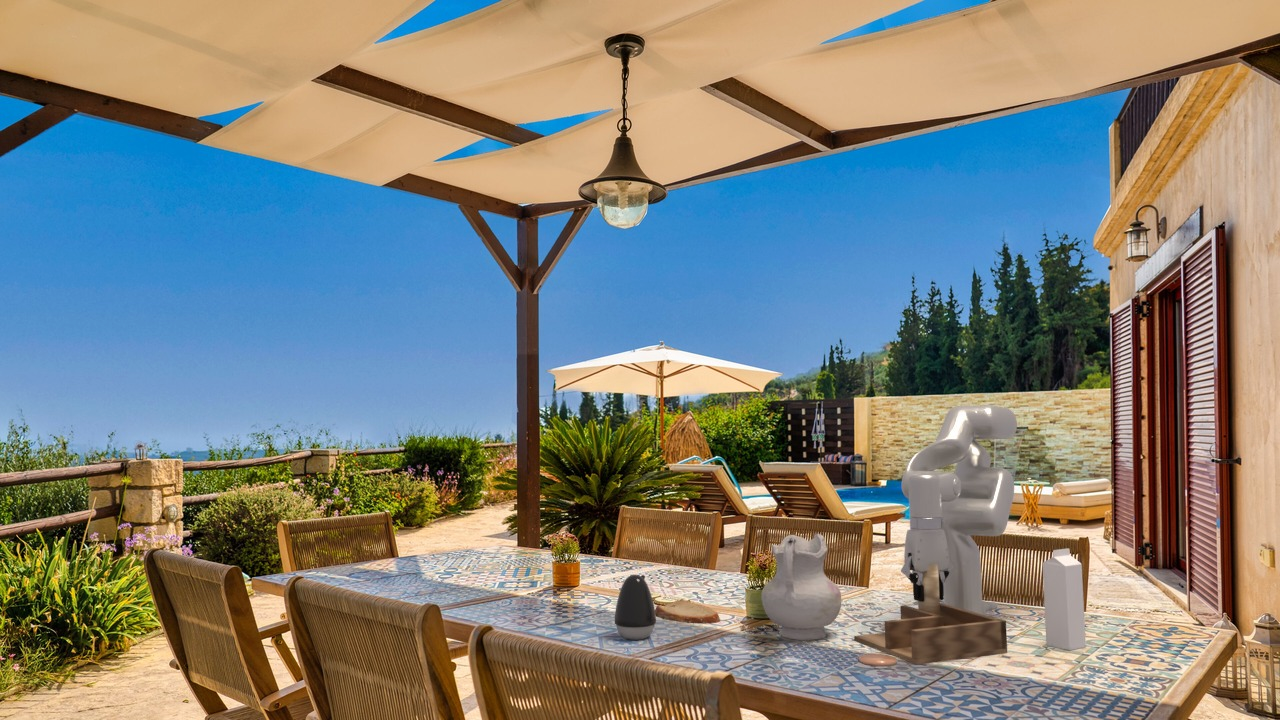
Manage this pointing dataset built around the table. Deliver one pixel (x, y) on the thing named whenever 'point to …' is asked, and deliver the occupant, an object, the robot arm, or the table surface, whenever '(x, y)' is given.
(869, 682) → the table surface
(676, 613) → the bread slice
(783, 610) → the ceramic pitcher
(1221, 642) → the table surface
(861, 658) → the pad
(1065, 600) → the milk
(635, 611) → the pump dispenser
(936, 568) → the beech peg
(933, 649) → the channel board
